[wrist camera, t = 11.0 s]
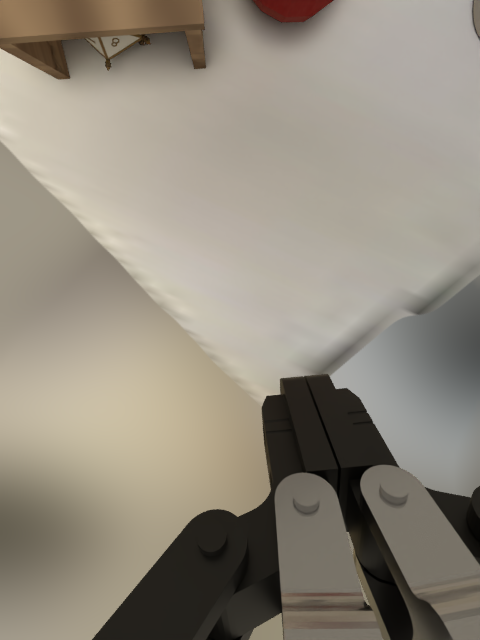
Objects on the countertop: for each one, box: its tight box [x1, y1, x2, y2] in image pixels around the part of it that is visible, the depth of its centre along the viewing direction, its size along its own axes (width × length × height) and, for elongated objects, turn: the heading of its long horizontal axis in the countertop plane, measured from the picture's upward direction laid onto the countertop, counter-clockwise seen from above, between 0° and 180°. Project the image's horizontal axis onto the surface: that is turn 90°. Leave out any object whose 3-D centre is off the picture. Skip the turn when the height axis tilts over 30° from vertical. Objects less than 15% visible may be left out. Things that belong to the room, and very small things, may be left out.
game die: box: [84, 34, 151, 71], centre depth 29 cm, size 9×8×10 cm
